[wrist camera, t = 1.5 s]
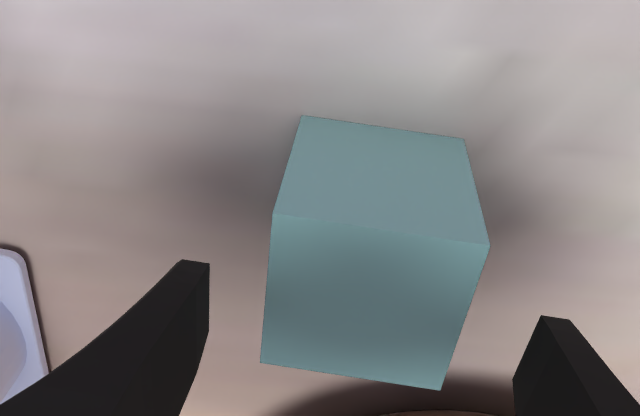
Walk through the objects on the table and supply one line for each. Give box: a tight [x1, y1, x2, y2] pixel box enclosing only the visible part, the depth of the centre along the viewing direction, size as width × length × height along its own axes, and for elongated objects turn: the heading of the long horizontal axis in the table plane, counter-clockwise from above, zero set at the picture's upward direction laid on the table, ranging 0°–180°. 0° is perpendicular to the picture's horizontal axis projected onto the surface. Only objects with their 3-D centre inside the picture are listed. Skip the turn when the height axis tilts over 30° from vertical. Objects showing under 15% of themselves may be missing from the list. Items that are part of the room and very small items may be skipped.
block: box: [260, 115, 490, 391], centre depth 15 cm, size 4×4×5 cm
